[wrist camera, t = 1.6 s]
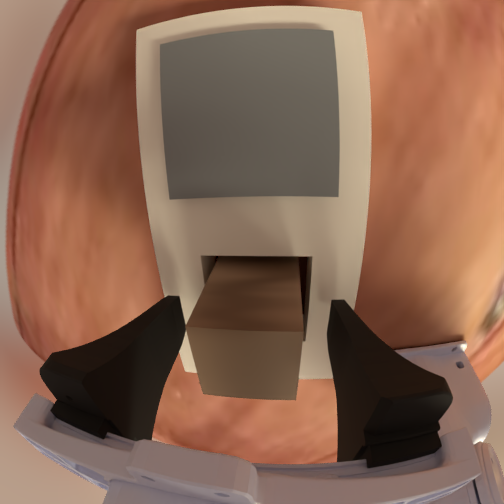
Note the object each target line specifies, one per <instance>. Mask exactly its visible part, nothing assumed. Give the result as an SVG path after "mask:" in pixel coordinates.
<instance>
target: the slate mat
mask: <svg viewBox="0 0 504 504" xmlns="http://www.w3.org/2000/svg"><path fill="white" fill-rule="evenodd" d="M160 87H161V110H162V126H163V140H164V152H165V163H166V173H167V182H168V191H169V199H170V200H174V199H192V198H216V197H256V196H309V197H339V162H340V129H339V95H338V77H337V63H336V51H335V41H334V32H333V31H332V30H319V29H256V30H242V31H232V32H224V33H216V34H209V35H203V36H197V37H192V38H186V39H182V40H177V41H172V42H168V43H164V44H160Z"/></svg>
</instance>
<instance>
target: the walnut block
mask: <svg viewBox="0 0 504 504" xmlns="http://www.w3.org/2000/svg"><path fill="white" fill-rule="evenodd" d="M185 328H186V332H187V336H188V340H189V344H190V348H191V352H192V356H193V359H194V363H195V367H196V370H197V374H198V378H199V381H200V385H201V388H202V391H203V394H207V395H215V396H225V397H236V398H249V399H268V400H296V395H297V387H298V379H299V371H300V362H301V353H302V343H303V332H304V331H303V315H302V300H301V287H300V275H299V263H298V256H219V258H218V260H217V262H216V264H215V266H214V268H213V270H212V272H211V274H210V276H209V278H208V280H207V282H206V284H205V286H204V288H203V290H202V292H201V295H200V297H199V299H198V301H197V303H196V305H195V307H194V309H193V311H192V313H191V315H190V317H189V320H188V322H187V324H186V326H185Z"/></svg>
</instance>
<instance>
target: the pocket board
mask: <svg viewBox="0 0 504 504" xmlns="http://www.w3.org/2000/svg"><path fill="white" fill-rule="evenodd" d="M256 29H319V30H332V31H333V32H334V41H335V51H336V63H337V77H338V95H339V129H340V162H339V197H309V196H256V197H216V198H192V199H174V200H170V199H169V191H168V182H167V173H166V163H165V152H164V140H163V126H162V110H161V87H160V44H164V43H168V42H172V41H177V40H182V39H186V38H192V37H197V36H203V35H209V34H216V33H224V32H232V31H242V30H256ZM136 98H137V118H138V132H139V144H140V155H141V164H142V173H143V181H144V189H145V196H146V203H147V210H148V216H149V222H150V228H151V234H152V239H153V245H154V250H155V255H156V260H157V265H158V270H159V274H160V279H161V284H162V288H163V292H164V296H165V297H166V296H168V295H171V296H180V301H181V306H182V310H183V315H184V319H185V324H187V322H188V320H189V317H190V315H191V313H192V311H193V309H194V307H195V305H196V303H197V301H198V299H199V297H200V295H201V292H202V290H203V288H204V286H205V284H206V282H207V280H208V278H209V276H210V274H211V272H212V270H213V268H214V266H215V264H216V261H215V256H307V275H306V291H305V306H304V314H302V315H303V331H304V332H303V343H302V353H301V362H300V371H299V379H331V378H333V374H332V369H331V364H330V359H329V354H328V345H327V327H328V321H329V314H330V307H331V300H339V299H344V300H345V301H346V302H347V303H348V304H349V306H350V307H351V308H352V309H353V311H354V308H355V302H356V297H357V291H358V285H359V279H360V273H361V266H362V259H363V252H364V244H365V235H366V226H367V216H368V204H369V190H370V172H371V97H370V79H369V66H368V56H367V46H366V38H365V31H364V24H363V17H362V12H359V11H352V10H345V9H336V8H326V7H311V6H262V7H247V8H236V9H228V10H220V11H213V12H207V13H201V14H196V15H191V16H186V17H181V18H177V19H173V20H169V21H165V22H161V23H157V24H154V25H150V26H147V27H144V28H141V29H138V30H137V34H136ZM179 353H180V356H181V359H182V363H183V366H184V369H185V371H186V372H193V373H197V370H196V367H195V363H194V359H193V356H192V352H191V348H190V344H189V340H188V336H187V332H185V336H184V340H183V343H182V346H181V348H180V351H179Z"/></svg>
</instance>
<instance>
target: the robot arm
mask: <svg viewBox="0 0 504 504" xmlns="http://www.w3.org/2000/svg"><path fill="white" fill-rule="evenodd" d="M185 326H186V324H185V319H184V315H183V310H182V306H181V301H180V296H171V295H168V296H166V297H165V298H163V299H162V300H160V301H159V302H158V303H156V304H155V305H153V306H152V307H151V308H149V309H148V310H147V311H145V312H144V313H142V314H141V315H140V316H138V317H137V318H135V319H134V320H132V321H131V322H129V323H128V324H126V325H125V326H123V327H121V328H120V329H118V330H116V331H114V332H112V333H110V334H108V335H106V336H104V337H102V338H100V339H97V340H95V341H93V342H90V343H88V344H85V345H82V346H79V347H76V348H72V349H68V350H64V351H59V352H54V353H52V354H51V355H50V356H49V358H48V359H47V360H46V362H45V363H44V364H43V366H42V367H41V368H40V375H41V378H42V380H43V381H44V383H45V384H46V386H47V387H48V388H49V390H50V391H51V392H52V394H53V395H54V396H55V398H56V399H57V401H56V402H55V404H54V403H53V402H51V401H50V400H48V399H46V398H45V397H42V396H41V395H39V394H37V393H35V394H34V396H33V397H32V398H31V400H30V401H29V403H28V404H27V406H26V407H25V409H24V410H23V412H22V413H21V415H20V416H19V418H18V420H17V421H16V423H15V424H14V428H15V429H16V430H17V431H18V432H19V433H20V434H21V435H22V436H23V437H24V438H25V439H26V440H27V441H28V442H29V443H30V444H32V445H33V446H34V447H35V448H36V449H37V450H39V451H40V452H41V453H42V454H43V455H45V456H47V457H48V458H50V459H51V460H53V461H54V462H56V463H58V464H59V465H61V466H63V467H64V468H66V469H68V470H69V471H71V472H73V473H74V474H76V475H78V476H80V477H82V478H83V479H85V480H87V481H89V482H91V483H93V484H95V485H97V486H99V487H101V488H103V489H105V490H107V494H106V496H105V499H104V502H103V504H504V476H503V472H502V469H501V466H500V463H499V460H498V457H497V455H496V453H495V451H494V449H493V447H492V446H491V444H489V443H483V441H484V440H485V438H486V436H487V434H488V432H489V429H490V425H491V406H490V402H489V399H488V397H487V395H486V393H485V390H484V388H483V386H482V384H481V382H480V380H479V379H478V377H477V375H476V373H475V371H474V369H473V367H472V365H471V364H470V362H469V360H468V358H467V356H466V355H465V353H464V351H465V349H466V347H467V343H466V341H458V342H452V343H446V344H440V345H433V346H426V347H418V348H410V349H401V350H393V349H391V348H390V347H389V346H388V345H387V344H385V343H384V342H383V341H382V340H381V339H379V338H378V337H377V336H376V335H375V334H374V333H373V332H372V331H371V330H370V329H369V328H368V327H367V325H366V324H365V323H364V322H363V321H362V320H361V319H360V318H359V316H358V315H357V314H356V313H355V312H354V311H353V309H352V308H351V307H350V306H349V304H348V303H347V302H346V301H345V300H344V299H339V300H331V307H330V314H329V321H328V327H327V345H328V354H329V359H330V364H331V369H332V374H333V379H334V384H335V390H336V398H337V418H338V452H337V462H336V463H322V464H260V463H250V462H249V461H247V460H244V459H242V458H239V457H236V456H231V455H226V454H220V453H213V452H206V451H200V450H194V449H189V448H184V447H179V446H174V445H170V444H165V443H161V442H157V441H152V434H153V428H154V423H155V418H156V414H157V410H158V406H159V402H160V398H161V395H162V392H163V388H164V385H165V382H166V380H167V377H168V375H169V373H170V371H171V369H172V366H173V364H174V362H175V360H176V357H177V355H178V353H179V351H180V348H181V346H182V343H183V340H184V336H185V332H186V328H185Z"/></svg>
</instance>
